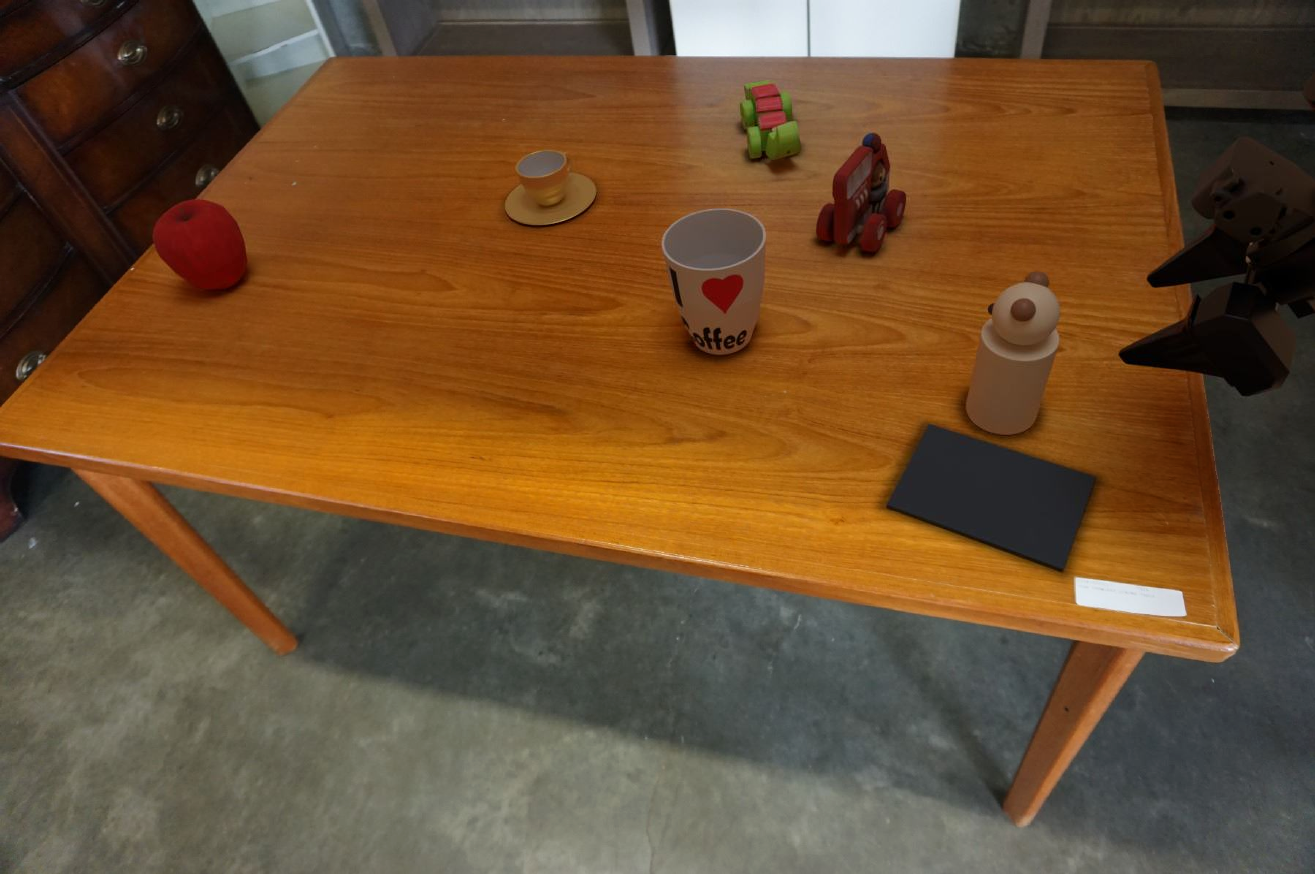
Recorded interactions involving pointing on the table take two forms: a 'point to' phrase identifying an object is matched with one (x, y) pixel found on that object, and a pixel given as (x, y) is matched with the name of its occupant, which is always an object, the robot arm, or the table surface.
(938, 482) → the mat
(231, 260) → the apple
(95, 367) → the table surface
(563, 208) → the cup
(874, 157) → the toy fire truck
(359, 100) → the table surface
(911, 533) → the table surface
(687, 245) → the cup
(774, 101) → the toy crocodile
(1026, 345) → the bear
